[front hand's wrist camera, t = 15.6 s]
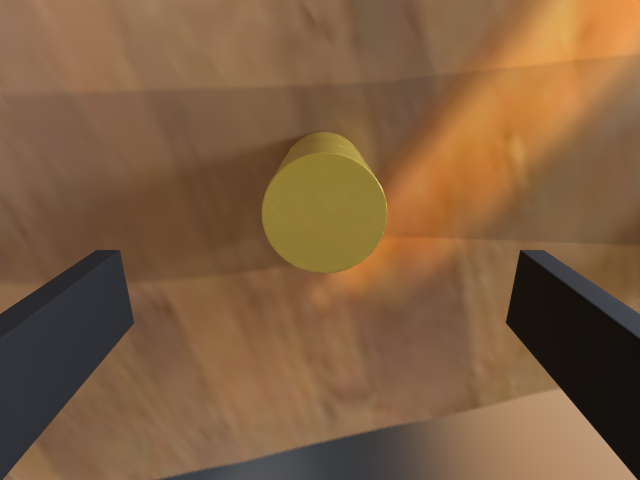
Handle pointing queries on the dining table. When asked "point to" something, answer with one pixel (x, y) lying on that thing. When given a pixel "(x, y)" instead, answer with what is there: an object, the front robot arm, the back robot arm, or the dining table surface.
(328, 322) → the dining table surface
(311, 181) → the can
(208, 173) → the dining table surface
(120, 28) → the dining table surface
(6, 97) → the dining table surface
